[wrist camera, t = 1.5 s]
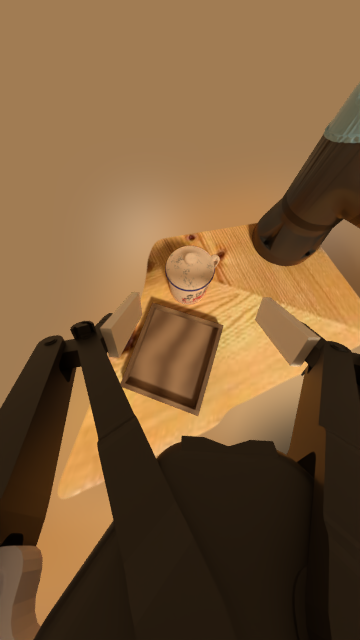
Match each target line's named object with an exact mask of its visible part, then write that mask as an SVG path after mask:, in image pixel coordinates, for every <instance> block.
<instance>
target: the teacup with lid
mask: <svg viewBox="0 0 360 640" xmlns="http://www.w3.org/2000/svg"><path fill="white" fill-rule="evenodd" d="M219 260H220V258H219V256H218V255H212V256H210V255H209V253H208V252H206V251H205V250H204V249H202V248H200V247H197V246H184V247H181V248H178V249H177V250H175V251H174V252H173V253H172V254H171V255H170V256H169V258H168V260H167V262H166V266H165V272H166V276H167V278H168V280H169V285H170V290H171V293H172V295H173V297H174V298H175V299H176V300H177V301H178V302H180V303H182V304H194V303H197V302H199V301H200V300H201V299H202V298H203V297H204V295H205V293H206V290H207V288H208V285H209V283H210V282H211V280H212V278H213V276H214V272H215V267H216V266H217V264H218V263H219Z"/></svg>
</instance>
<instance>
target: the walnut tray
mask: <svg viewBox="0 0 360 640" xmlns="http://www.w3.org/2000/svg"><path fill="white" fill-rule="evenodd" d="M222 329H223V325H221V324H218V323H215V322H211V321H208V320H205V319H202V318H199V317H196V316H193V315H190V314H186V313H183V312H180V311H177V310H174V309H171V308H168V307H165V306H161V305H158V304H155V303H152V305H151V308H150V310H149V313H148V316H147V318H146V321H145V323H144V326H143V328H142V331H141V333H140V336H139V338H138V341H137V343H136V346H135V348H134V351H133V353H132V356H131V358H130V361H129V363H128V366H127V369H126V371H125V374H124V376H123V379H122V381H121V387H123V388H126V389H129V390H131V391H134V392H136V393H139V394H142V395H144V396H147V397H149V398H152V399H155V400H157V401H160V402H162V403H165V404H168V405H170V406H173V407H175V408H178V409H181V410H183V411H186V412H188V413H191V414H194V415H196V416H198V415H199V411H200V408H201V404H202V401H203V397H204V394H205V390H206V386H207V383H208V379H209V376H210V372H211V368H212V365H213V361H214V358H215V354H216V351H217V347H218V343H219V340H220V336H221V333H222Z"/></svg>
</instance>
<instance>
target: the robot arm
mask: <svg viewBox="0 0 360 640" xmlns="http://www.w3.org/2000/svg"><path fill="white" fill-rule="evenodd" d="M343 219H345V220H347V221H349V222H350V223H352V224H353V225H355V226H357V227H358V228H360V83H359V84H358V85H357V86H356V88H355V89H354V91H353V92H352V93H351V95H350V96H349V98H348V99H347V101H346V102H345V103H344V105H343V106H342V108H341V109H340V111H339V112H338V113H337V115H336V116H335V118H334V119H333V120H332V121H331V122H330V123H329V125H328V126H327V128H326V129H325V132H324V134H323V136H322V138H321V139H320V141H319V142H318V144H317V145H316V147H315V148H314V150H313V152H312V153H311V155H310V156H309V158H308V159H307V161H306V162H305V164H304V165H303V167H302V169H301V170H300V172H299V173H298V175H297V176H296V178H295V179H294V181H293V183H292V184H291V186H290V187H289V189H288V190H287V192H286V193H285V195H284V196H283V198H282V199H281V200H280V201H279V202H278V203H276V204H275V205H274V206H273V207H272V208H271V209H270V210H269V211H268V212H267V213H266V214H265V215H264V216H263V217H262V218H261V219H260V221H259V222H258V224H257V226H256V227H255V229H254V232H253V243H254V246H255V248H256V250H257V251H258V253H259V254H260V255H261V256H262V257H263V258H264V259H266V260H267V261H269V262H271V263H274V264H277V265H281V266H292V265H297V264H299V263H301V262H303V261H305V260H306V259H307V258H309V257H310V256H311V255H312V254H314V253H315V252H316V250H317V249H318V248H319V246H320V245H321V244H322V242H323V241H324V239H325V238H326V237H327V235H328V234H329V232H330V231H331V230H332V228H334V227H335V226H336V225H337V224H338V223H339V222H340V221H342V220H343ZM141 316H142V310H141V303H140V295H139V293H138V292H132V293H131V294H130V295H129V296H128V297H127V298H126V300H125V301H124V302H123V303H122V304H121V305H120V306H119V307H118V308H117V310H116V311H115V312H114V313H109V314H107V315H106V316H104V317H103V318H102V320H100V322H99V323H98V324H97V325H96V326H94V324H93V322H91V321H82V322H79V323H76V324H75V325H73V326H72V327H71V329H70V330H71V332H72V334H73V336H74V338H75V339H72V340H66V341H64V339H63V337H61V336H58V335H57V336H51V337H47V338H45V339H43V340H42V341H40V342H39V343H38V344H37V346H36V348H35V349H34V351H33V353H32V355H31V356H30V358H29V360H28V362H27V363H26V365H25V367H24V369H23V370H22V372H21V374H20V375H19V377H18V379H17V381H16V382H15V384H14V386H13V388H12V389H11V391H10V393H9V394H8V396H7V398H6V400H5V402H4V403H3V405H2V407H1V408H0V640H360V354H357V353H352V352H351V350H350V349H348V348H347V347H345V346H344V345H342V344H339V343H337V342H333V341H326V340H325V339H324V338H322V337H321V336H320V335H318V334H317V333H316V332H314V331H313V330H312V329H310V327H308V326H307V325H306V324H304V323H302V322H300V321H299V320H298V319H296V318H295V317H294V316H293V315H291V314H290V313H289V312H288V311H286V310H285V309H284V308H283V307H282V306H280V305H279V304H278V303H277V302H275V301H274V300H273V299H272V298H268V297H263V299H262V302H261V304H260V307H259V310H258V313H257V316H256V318H255V320H256V321H257V323H258V324H259V325H260V327H261V328H262V329H263V331H264V332H265V333H266V335H267V336H268V337H269V339H270V340H271V341H272V342H273V344H274V345H275V346H276V348H277V349H278V350H279V352H280V353H281V354H282V356H283V357H284V358H285V360H286V361H287V362H288V363H289V365H290V366H301V365H302V364H303V362H304V361H306V362H307V363H308V366H307V367H306V369H305V370H304V371H303V373H302V374H301V375H302V376H303V375H304V379H303V384H302V389H301V394H300V400H299V404H298V409H297V414H296V419H295V424H294V429H293V434H292V439H291V443H290V448H289V451H288V453H287V455H286V454H284V453H282V452H280V451H278V450H276V448H275V445H274V443H273V442H272V441H256V440H249V441H246V442H242V443H239V444H236V445H232V446H226V445H223V444H220V443H218V442H215V441H212V440H210V439H207V438H205V437H193V436H182V439H181V442H180V443H176V444H174V445H172V446H170V447H169V448H167V449H166V450H164V451H163V452H162V453H161V454H160V455H159V456H158V458H157V459H156V458H155V456H154V453H153V451H152V449H151V447H150V445H149V443H148V440H147V438H146V436H145V434H144V432H143V430H142V428H141V425H140V423H139V421H138V419H137V417H136V416H135V415H134V413H133V411H132V408H131V406H130V404H129V402H128V400H127V397H126V395H125V393H124V391H123V389H122V387H121V384H120V382H119V380H118V378H117V376H116V373H115V371H114V369H113V367H112V365H111V363H110V360H109V358H108V356H107V352H108V353H109V356H110V357H120V355H121V353H122V351H123V350H124V348H125V346H126V344H127V342H128V340H129V338H130V337H131V335H132V333H133V331H134V329H135V327H136V325H137V323H138V322H139V320H140V318H141ZM80 366H81V367H82V371H83V375H84V379H85V383H86V387H87V392H88V396H89V400H90V404H91V409H92V413H93V417H94V421H95V426H96V430H97V434H98V443H97V445H98V452H99V457H100V461H101V466H102V470H103V475H104V479H105V484H106V488H107V493H108V497H109V501H110V506H111V511H112V515H113V522H112V523H111V525H110V526H109V528H108V529H107V531H106V532H105V534H104V535H103V536H102V538H101V539H100V541H99V542H98V544H97V545H96V546H95V548H94V549H93V551H92V552H91V554H90V555H89V556H88V558H87V559H86V561H85V562H84V564H83V565H82V567H81V568H80V570H79V571H78V572H77V574H76V575H75V577H74V578H73V580H72V581H71V583H70V584H69V585H68V587H67V588H66V590H65V591H64V593H63V594H62V596H61V597H60V599H59V600H58V601H57V603H56V604H55V606H54V607H53V609H52V610H51V612H50V613H49V615H48V616H47V618H46V619H45V621H44V622H43V624H42V626H40V625H39V624H38V623H37V619H36V614H35V598H36V593H37V588H38V585H39V581H40V576H41V571H42V555H41V551H40V550H39V549H38V548H37V547H36V545H37V542H38V539H39V535H40V532H41V529H42V526H43V523H44V520H45V516H46V512H47V508H48V504H49V500H50V495H51V490H52V486H53V481H54V476H55V471H56V466H57V460H58V456H59V451H60V446H61V441H62V436H63V431H64V426H65V421H66V416H67V411H68V407H69V402H70V397H71V391H72V387H73V381H74V377H75V372H76V367H80Z"/></svg>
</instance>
